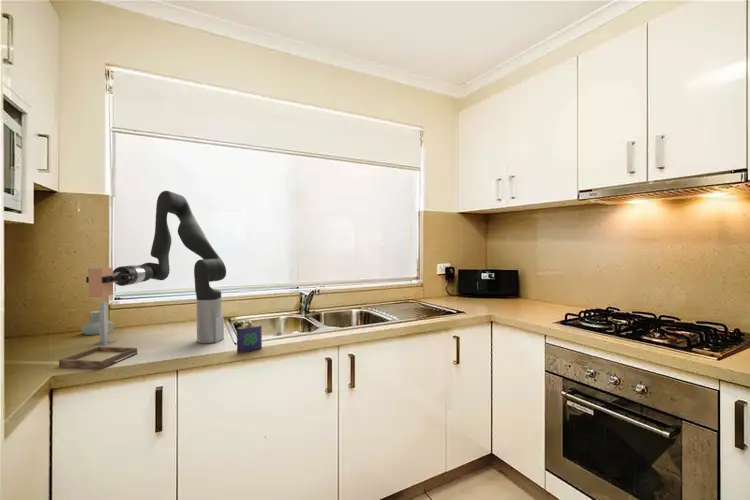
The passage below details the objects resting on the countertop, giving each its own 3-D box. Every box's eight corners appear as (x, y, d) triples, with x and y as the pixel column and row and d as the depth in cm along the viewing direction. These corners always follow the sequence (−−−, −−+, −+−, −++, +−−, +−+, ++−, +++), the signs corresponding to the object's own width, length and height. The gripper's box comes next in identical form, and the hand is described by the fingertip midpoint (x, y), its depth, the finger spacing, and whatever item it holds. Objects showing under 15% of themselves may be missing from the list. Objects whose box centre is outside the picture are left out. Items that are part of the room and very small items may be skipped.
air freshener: (101, 331, 163) (100, 308, 162) (117, 331, 161) (117, 309, 161) (77, 337, 152) (77, 313, 152) (94, 338, 151) (94, 314, 150)
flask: (260, 347, 140) (260, 319, 140) (263, 349, 138) (263, 321, 138) (236, 351, 135) (235, 323, 134) (238, 353, 132) (238, 324, 132)
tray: (137, 354, 131) (137, 348, 131) (101, 369, 116) (101, 362, 116) (99, 352, 132) (99, 346, 132) (59, 367, 118) (58, 360, 117)
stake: (117, 343, 144) (116, 300, 143) (105, 348, 138) (105, 303, 137) (102, 343, 144) (101, 300, 143) (90, 347, 138) (89, 303, 137)
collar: (113, 294, 133) (112, 267, 133) (102, 297, 128) (101, 268, 128) (99, 294, 133) (99, 267, 133) (88, 296, 128) (88, 268, 128)
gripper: (111, 265, 145) (74, 269, 128) (146, 265, 144) (114, 269, 127) (111, 284, 145) (75, 290, 128) (147, 284, 145) (115, 290, 128)
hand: (95, 280), depth 128 cm, fingers closed on collar, 5 cm apart
